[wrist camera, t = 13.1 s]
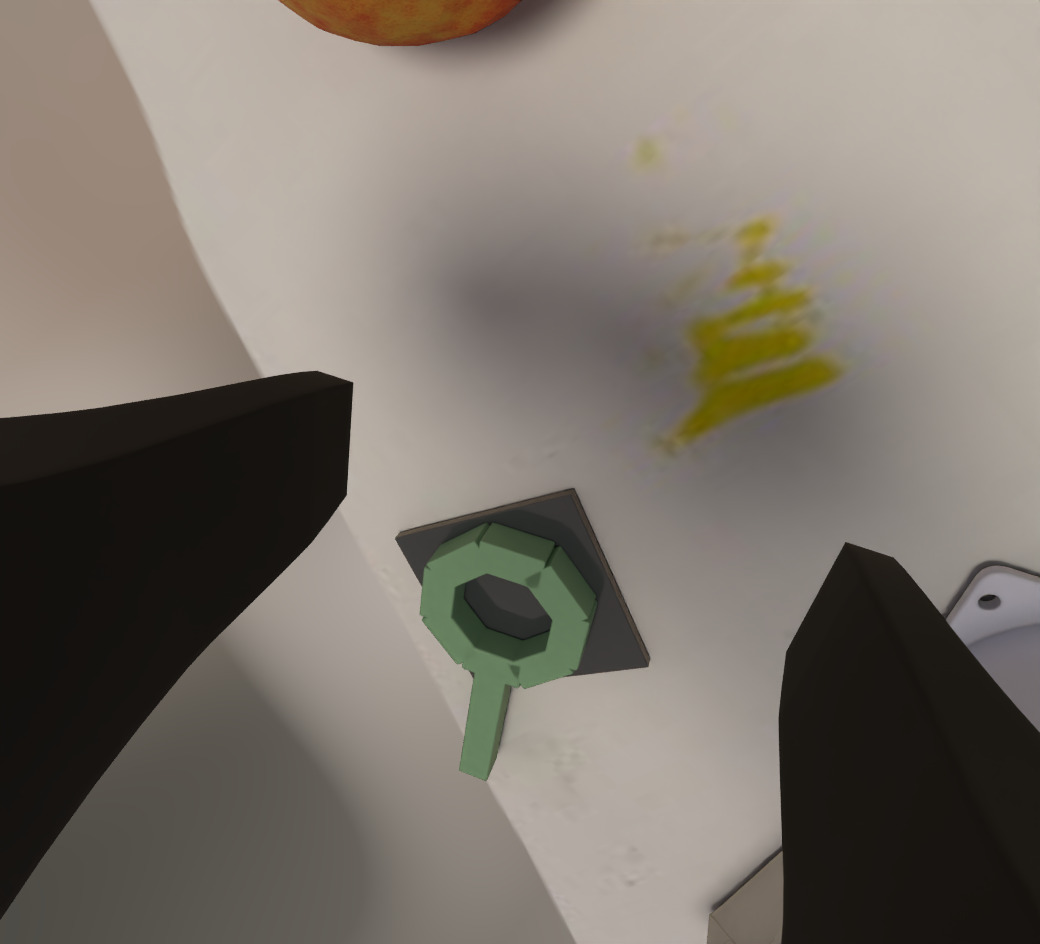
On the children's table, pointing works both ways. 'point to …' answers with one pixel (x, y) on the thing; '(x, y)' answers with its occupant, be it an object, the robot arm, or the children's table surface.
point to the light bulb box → (752, 910)
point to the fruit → (401, 18)
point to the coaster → (515, 604)
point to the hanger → (494, 652)
